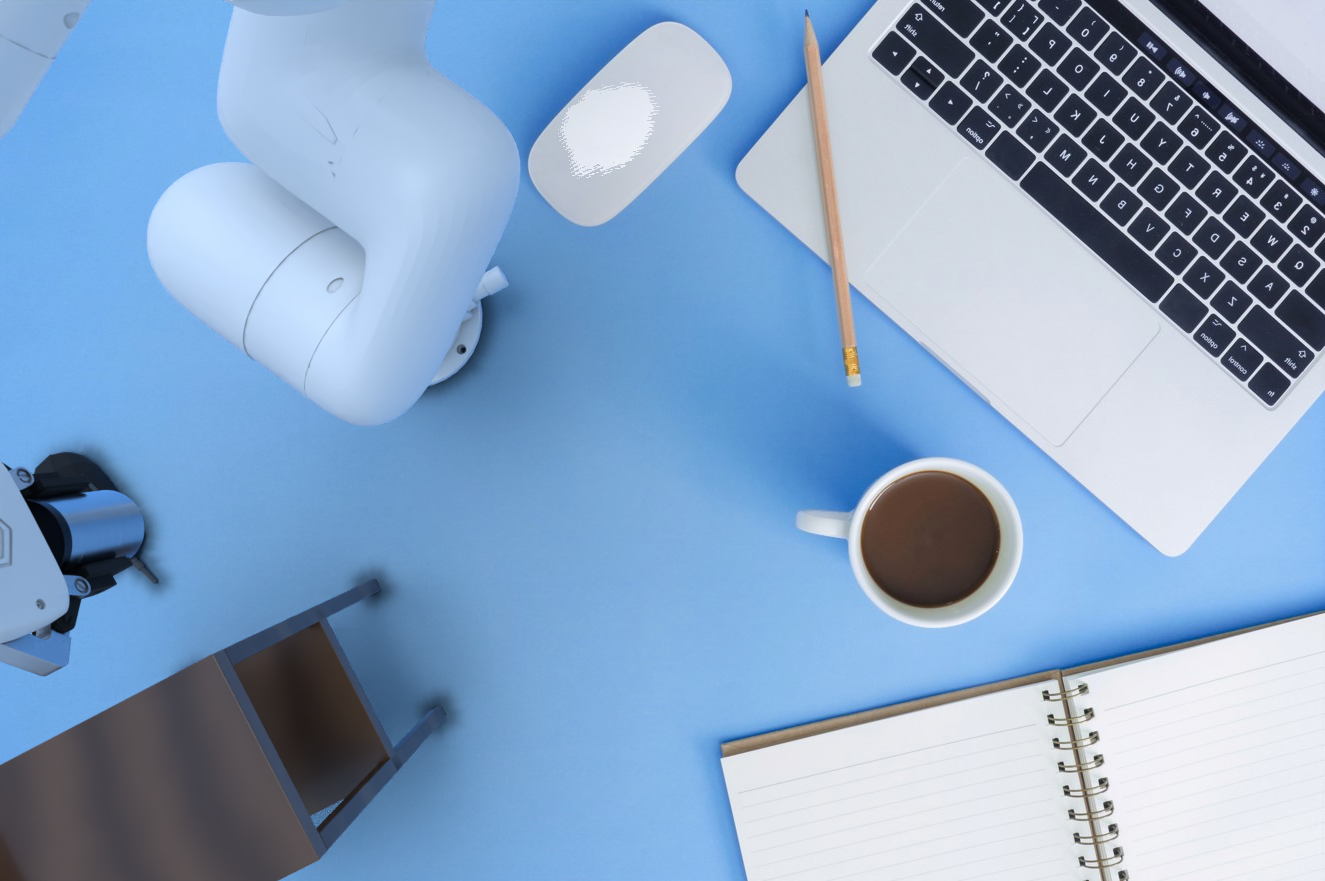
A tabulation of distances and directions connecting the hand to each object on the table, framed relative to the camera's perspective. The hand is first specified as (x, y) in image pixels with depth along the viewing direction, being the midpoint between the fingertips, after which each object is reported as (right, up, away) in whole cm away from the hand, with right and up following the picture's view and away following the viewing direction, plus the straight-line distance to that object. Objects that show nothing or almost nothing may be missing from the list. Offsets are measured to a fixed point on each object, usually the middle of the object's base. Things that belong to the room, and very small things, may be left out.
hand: (88, 531), depth 54 cm
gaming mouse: (-16, -2, +27) cm, 31 cm away
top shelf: (+2, -18, +1) cm, 18 cm away
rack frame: (+4, -18, +26) cm, 31 cm away
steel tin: (0, 0, +2) cm, 2 cm away
